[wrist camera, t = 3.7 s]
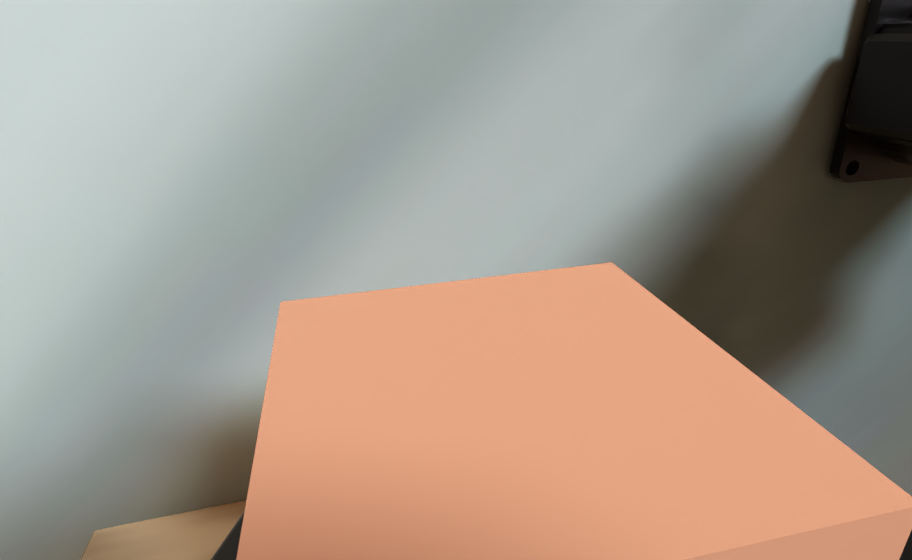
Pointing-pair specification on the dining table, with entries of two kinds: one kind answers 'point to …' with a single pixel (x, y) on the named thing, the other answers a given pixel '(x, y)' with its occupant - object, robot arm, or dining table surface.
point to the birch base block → (167, 536)
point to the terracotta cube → (542, 435)
